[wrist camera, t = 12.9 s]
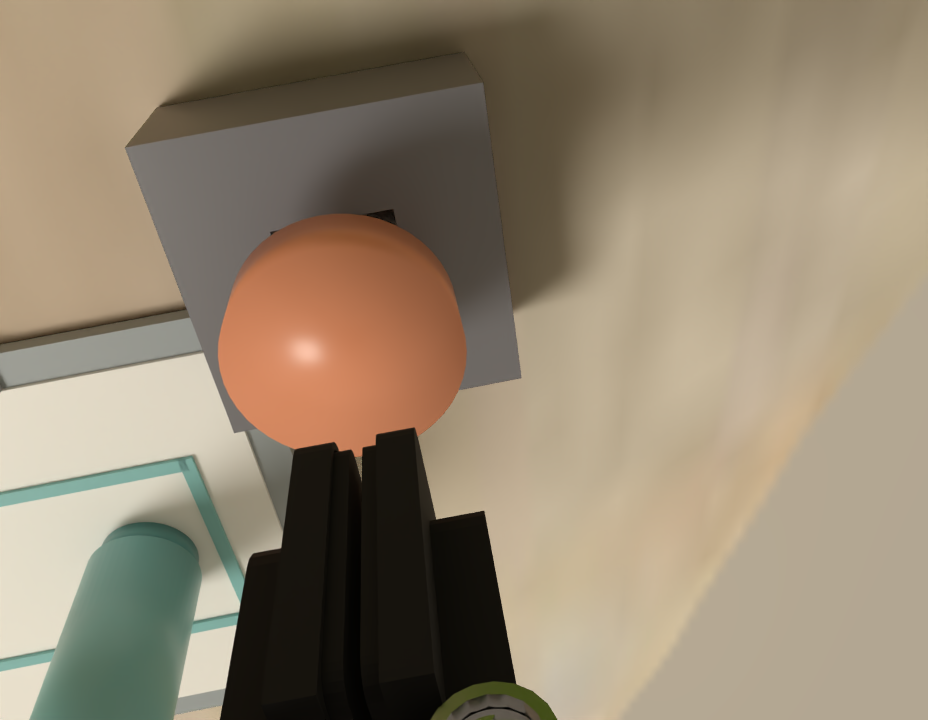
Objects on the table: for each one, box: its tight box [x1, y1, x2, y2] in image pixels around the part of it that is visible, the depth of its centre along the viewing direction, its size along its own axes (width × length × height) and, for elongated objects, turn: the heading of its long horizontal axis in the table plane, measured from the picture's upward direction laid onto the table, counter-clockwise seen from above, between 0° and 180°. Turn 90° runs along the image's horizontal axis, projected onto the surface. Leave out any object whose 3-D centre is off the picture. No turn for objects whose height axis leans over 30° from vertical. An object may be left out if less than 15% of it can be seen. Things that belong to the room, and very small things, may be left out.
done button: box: [218, 214, 467, 457], centre depth 16 cm, size 4×4×4 cm
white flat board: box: [0, 310, 295, 720], centre depth 24 cm, size 18×15×1 cm
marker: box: [29, 522, 202, 720], centre depth 20 cm, size 3×3×9 cm
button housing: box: [125, 52, 521, 433], centre depth 19 cm, size 7×7×3 cm
